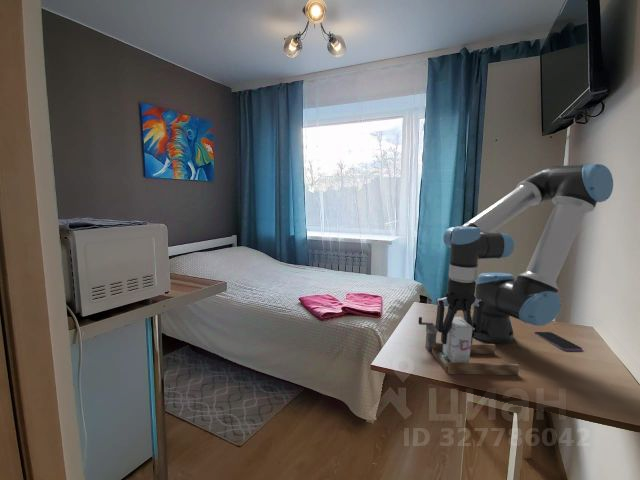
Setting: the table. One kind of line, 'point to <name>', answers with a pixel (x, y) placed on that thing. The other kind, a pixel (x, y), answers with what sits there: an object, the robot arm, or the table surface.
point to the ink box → (459, 341)
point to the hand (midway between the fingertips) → (455, 353)
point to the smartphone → (558, 341)
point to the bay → (466, 367)
